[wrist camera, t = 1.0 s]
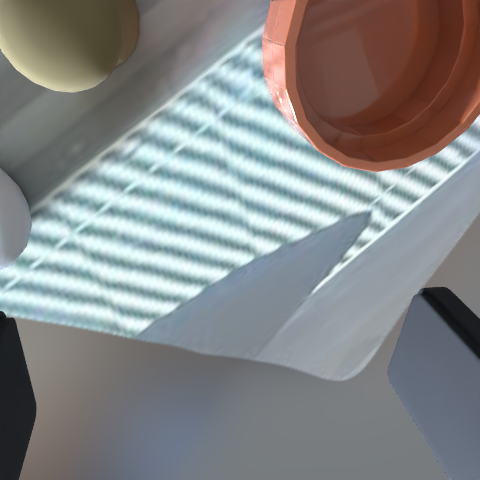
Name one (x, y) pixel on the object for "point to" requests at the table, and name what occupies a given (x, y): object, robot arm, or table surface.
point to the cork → (68, 39)
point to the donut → (12, 221)
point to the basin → (375, 75)
